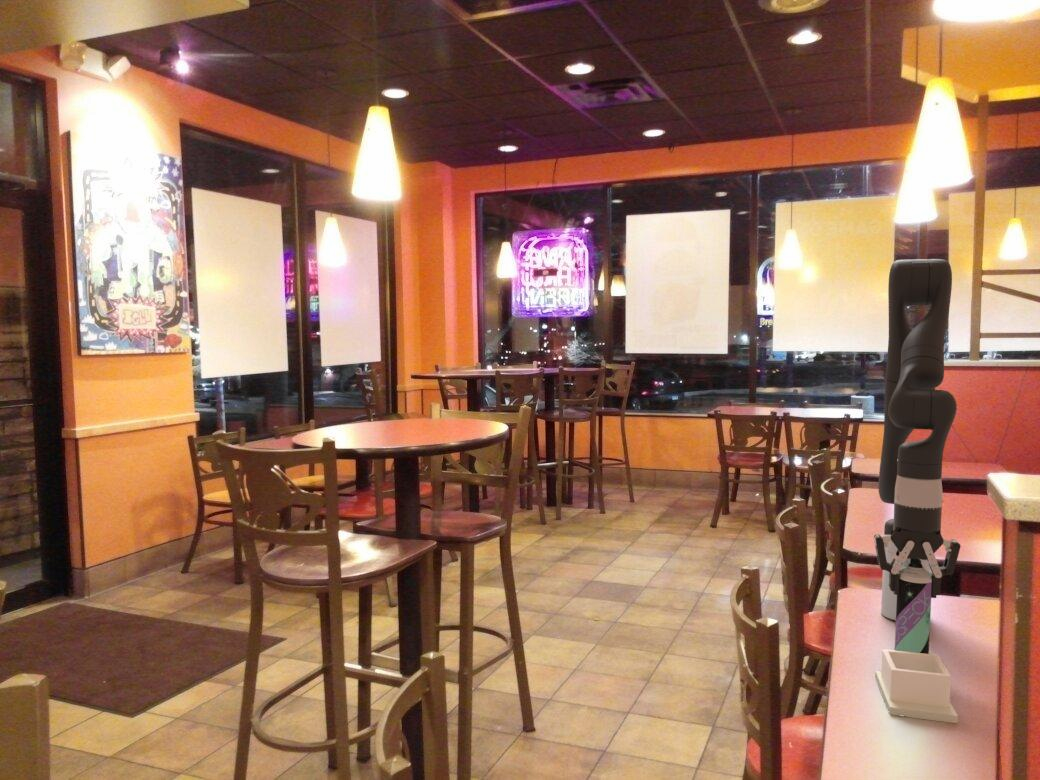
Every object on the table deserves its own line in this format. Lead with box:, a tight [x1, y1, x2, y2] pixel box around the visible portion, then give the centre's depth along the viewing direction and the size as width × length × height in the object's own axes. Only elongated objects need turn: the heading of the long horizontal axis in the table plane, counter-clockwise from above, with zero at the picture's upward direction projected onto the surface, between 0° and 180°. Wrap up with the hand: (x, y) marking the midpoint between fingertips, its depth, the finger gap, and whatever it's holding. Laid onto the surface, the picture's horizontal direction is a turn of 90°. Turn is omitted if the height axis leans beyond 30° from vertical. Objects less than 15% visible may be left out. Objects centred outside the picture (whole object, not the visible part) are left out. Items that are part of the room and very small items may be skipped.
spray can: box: [894, 558, 932, 654], centre depth 140 cm, size 6×6×20 cm
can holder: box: [874, 648, 958, 724], centre depth 128 cm, size 14×10×6 cm
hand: (913, 594), depth 139 cm, fingers closed on spray can, 5 cm apart
